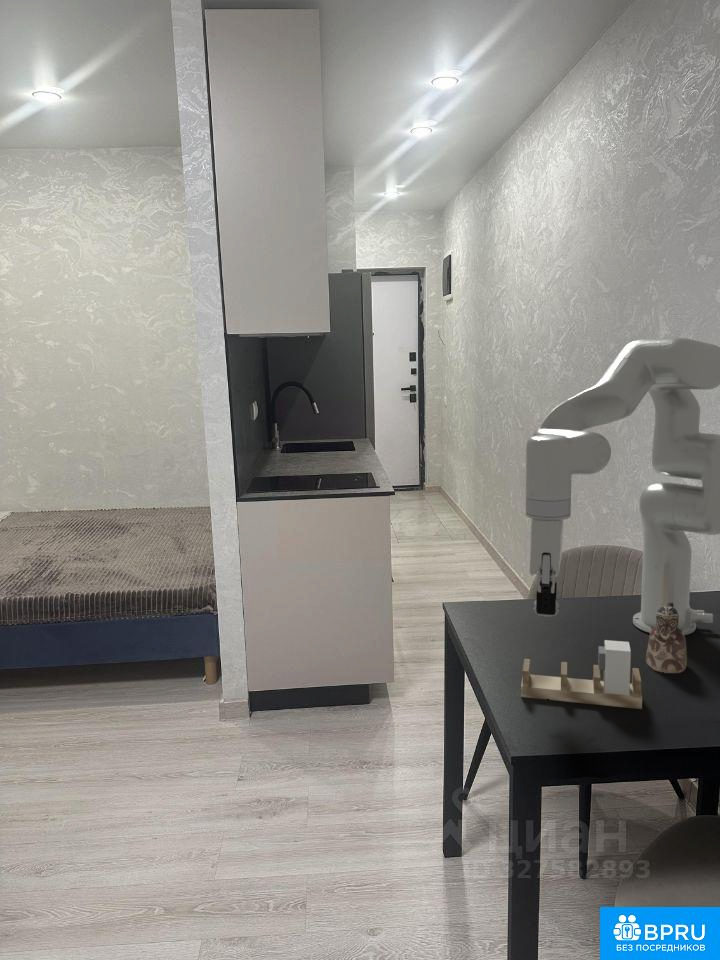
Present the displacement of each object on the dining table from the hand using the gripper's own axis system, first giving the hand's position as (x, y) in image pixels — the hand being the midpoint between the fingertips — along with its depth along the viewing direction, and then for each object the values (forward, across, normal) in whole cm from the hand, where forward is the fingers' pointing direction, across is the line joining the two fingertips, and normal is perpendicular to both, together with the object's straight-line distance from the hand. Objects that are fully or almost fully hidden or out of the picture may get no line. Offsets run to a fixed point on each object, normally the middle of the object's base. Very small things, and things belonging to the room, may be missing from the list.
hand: (546, 607), depth 122 cm
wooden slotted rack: (+16, 0, +6) cm, 17 cm away
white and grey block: (+14, 0, +12) cm, 18 cm away
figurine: (+16, -16, +22) cm, 31 cm away
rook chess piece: (+1, 0, 0) cm, 1 cm away
